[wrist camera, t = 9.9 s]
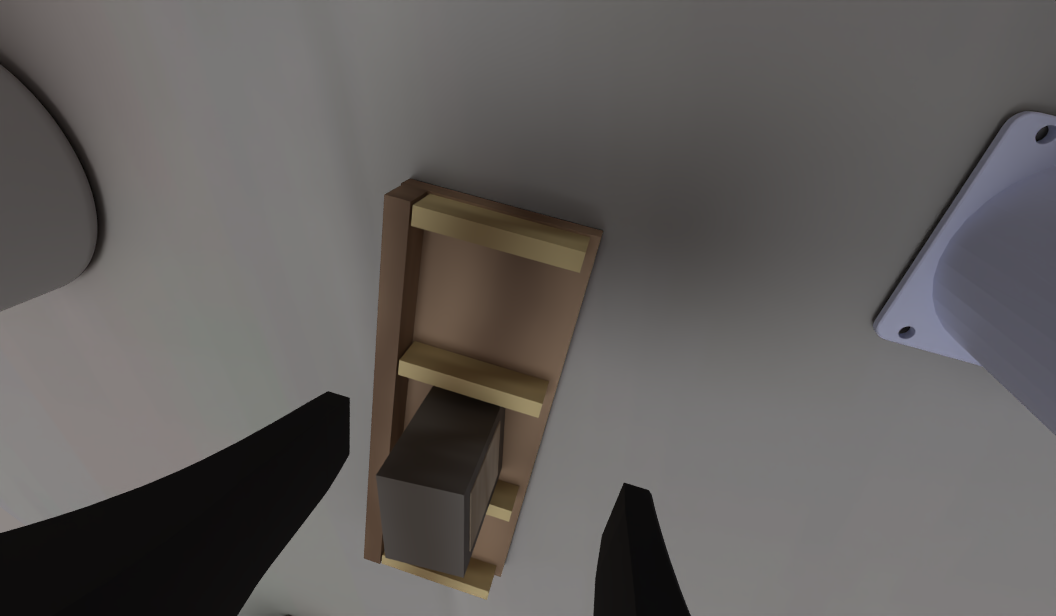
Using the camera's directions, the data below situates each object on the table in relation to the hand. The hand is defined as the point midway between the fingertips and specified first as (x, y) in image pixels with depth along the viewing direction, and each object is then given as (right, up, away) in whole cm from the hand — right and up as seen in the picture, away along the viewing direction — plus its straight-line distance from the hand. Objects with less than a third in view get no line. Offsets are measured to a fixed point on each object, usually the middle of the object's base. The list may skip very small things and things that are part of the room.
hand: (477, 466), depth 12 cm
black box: (-2, -2, +12) cm, 12 cm away
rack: (-2, -1, +12) cm, 13 cm away
